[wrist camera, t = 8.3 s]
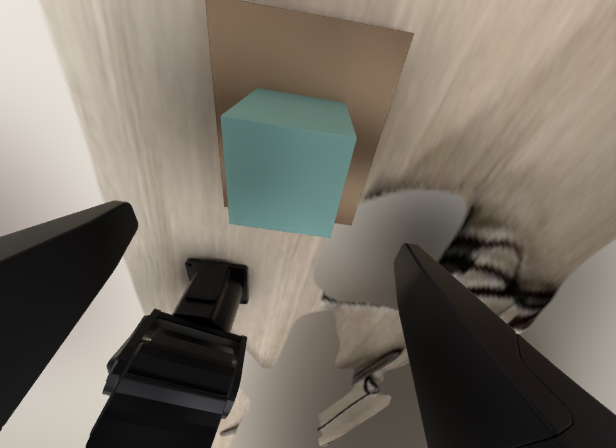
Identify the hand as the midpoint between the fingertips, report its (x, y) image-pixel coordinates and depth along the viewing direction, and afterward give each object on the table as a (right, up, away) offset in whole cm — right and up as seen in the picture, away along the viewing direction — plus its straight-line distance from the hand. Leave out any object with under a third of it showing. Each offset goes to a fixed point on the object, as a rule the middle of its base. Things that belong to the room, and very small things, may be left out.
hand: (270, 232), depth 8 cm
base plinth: (+1, +7, +9) cm, 11 cm away
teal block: (+1, +6, +7) cm, 9 cm away
